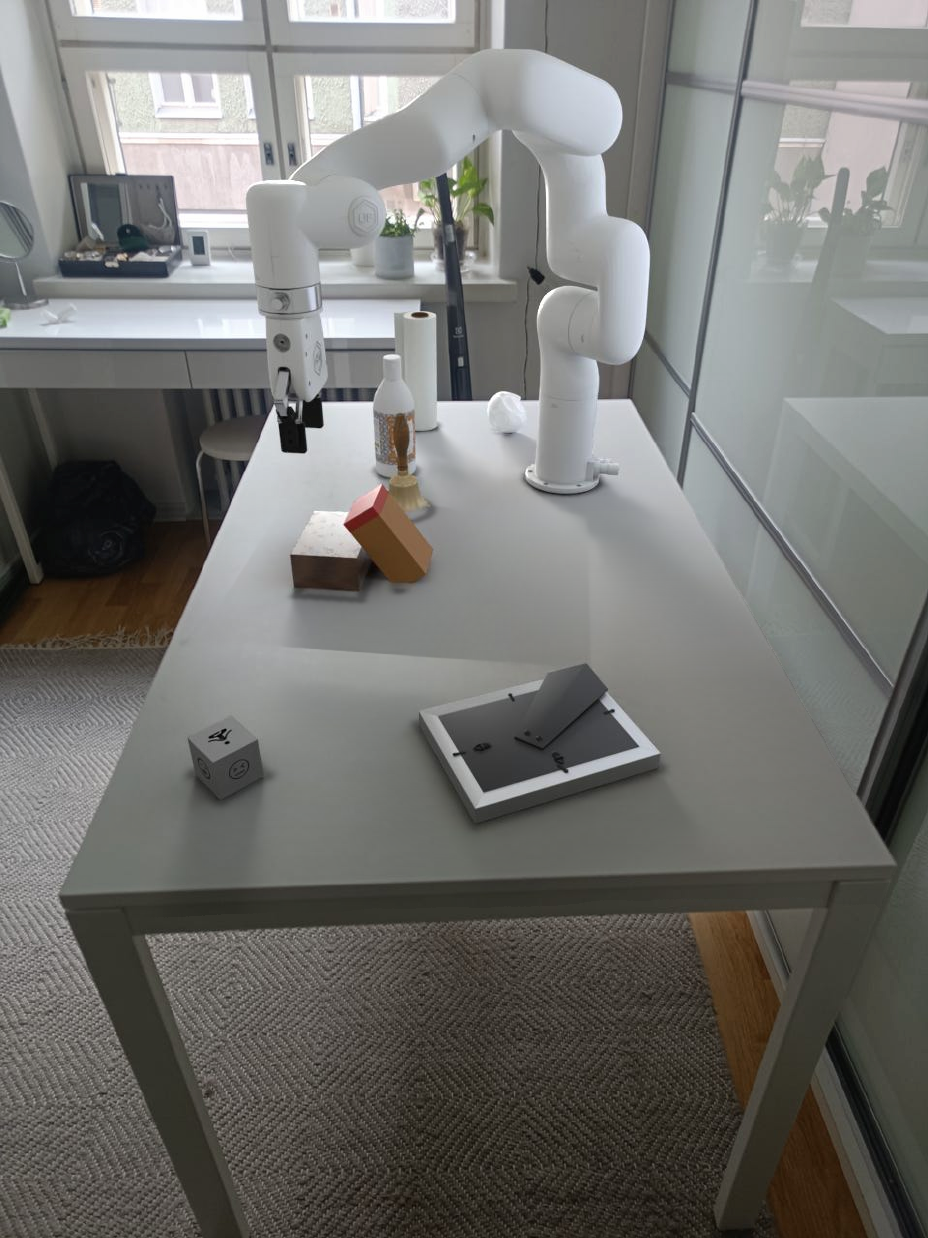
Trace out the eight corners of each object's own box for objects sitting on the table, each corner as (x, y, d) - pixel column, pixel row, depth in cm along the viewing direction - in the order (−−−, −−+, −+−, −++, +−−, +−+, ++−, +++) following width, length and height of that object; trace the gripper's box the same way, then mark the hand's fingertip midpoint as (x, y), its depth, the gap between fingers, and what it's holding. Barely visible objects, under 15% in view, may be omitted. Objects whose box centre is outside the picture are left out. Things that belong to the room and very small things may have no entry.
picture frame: (584, 682, 103) (418, 725, 96) (586, 662, 101) (418, 705, 95) (658, 768, 91) (474, 824, 84) (661, 747, 89) (475, 803, 83)
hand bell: (370, 516, 138) (364, 420, 129) (391, 495, 145) (387, 402, 136) (418, 525, 136) (416, 427, 127) (438, 503, 142) (437, 408, 133)
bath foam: (388, 482, 149) (383, 365, 138) (369, 468, 154) (362, 354, 143) (423, 473, 152) (421, 358, 141) (403, 459, 157) (399, 348, 146)
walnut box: (378, 553, 128) (375, 513, 125) (359, 600, 118) (357, 558, 114) (318, 549, 129) (314, 510, 125) (294, 596, 118) (289, 554, 115)
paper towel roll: (443, 427, 170) (442, 315, 158) (417, 434, 167) (414, 320, 155) (423, 416, 175) (421, 306, 163) (397, 422, 172) (393, 311, 160)
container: (433, 566, 125) (432, 485, 118) (426, 592, 119) (424, 508, 112) (358, 562, 126) (352, 482, 119) (348, 587, 120) (341, 504, 113)
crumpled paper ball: (526, 439, 165) (528, 399, 161) (486, 438, 166) (487, 398, 161) (525, 424, 172) (527, 385, 168) (487, 423, 172) (488, 384, 168)
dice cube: (238, 751, 92) (231, 715, 90) (263, 776, 89) (257, 739, 87) (195, 774, 90) (187, 737, 87) (220, 800, 87) (212, 762, 84)
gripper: (301, 318, 95) (315, 468, 105) (337, 282, 110) (346, 416, 120) (234, 316, 96) (254, 465, 106) (279, 280, 110) (293, 414, 120)
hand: (303, 438), depth 113 cm, fingers open, 7 cm apart
